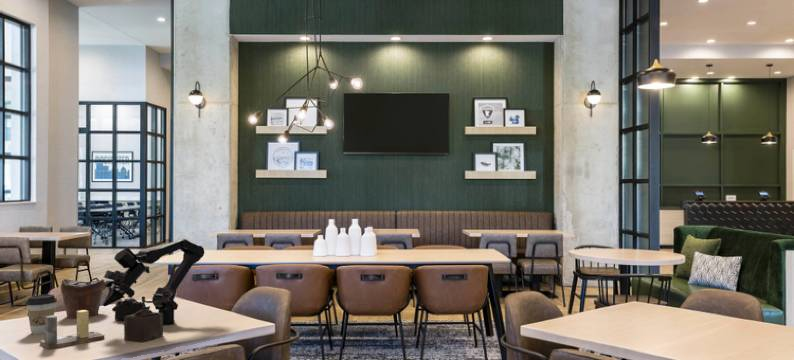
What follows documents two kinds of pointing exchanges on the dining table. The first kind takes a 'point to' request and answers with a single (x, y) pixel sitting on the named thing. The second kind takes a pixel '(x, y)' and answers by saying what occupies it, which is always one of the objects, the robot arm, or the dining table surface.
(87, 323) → the leg
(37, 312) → the coffee cup
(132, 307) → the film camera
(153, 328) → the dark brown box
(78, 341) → the gauge board
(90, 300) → the brown wicker basket
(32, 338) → the dining table surface
